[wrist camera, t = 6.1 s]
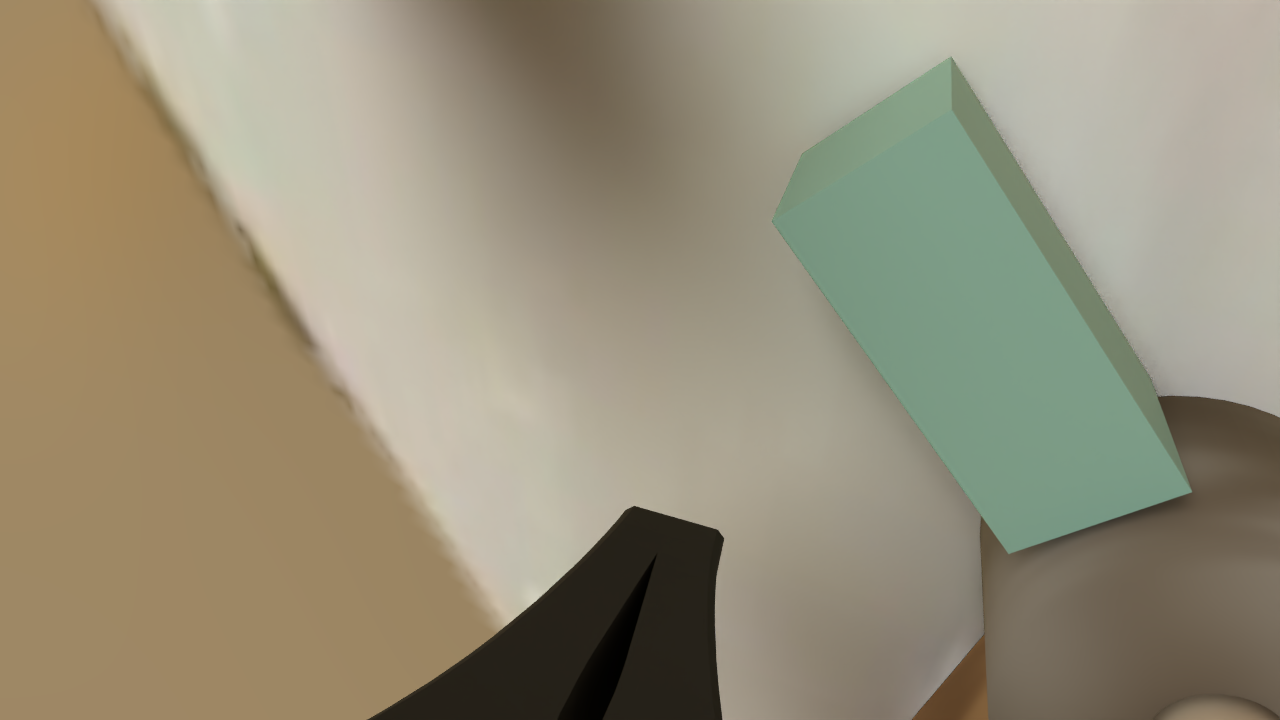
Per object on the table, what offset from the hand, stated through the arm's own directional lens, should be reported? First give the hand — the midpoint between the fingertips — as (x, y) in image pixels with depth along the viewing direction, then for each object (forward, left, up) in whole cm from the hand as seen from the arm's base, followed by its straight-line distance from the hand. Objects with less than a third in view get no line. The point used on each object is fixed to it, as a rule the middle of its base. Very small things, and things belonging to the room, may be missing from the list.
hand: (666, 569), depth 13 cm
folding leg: (-4, -1, -7) cm, 9 cm away
